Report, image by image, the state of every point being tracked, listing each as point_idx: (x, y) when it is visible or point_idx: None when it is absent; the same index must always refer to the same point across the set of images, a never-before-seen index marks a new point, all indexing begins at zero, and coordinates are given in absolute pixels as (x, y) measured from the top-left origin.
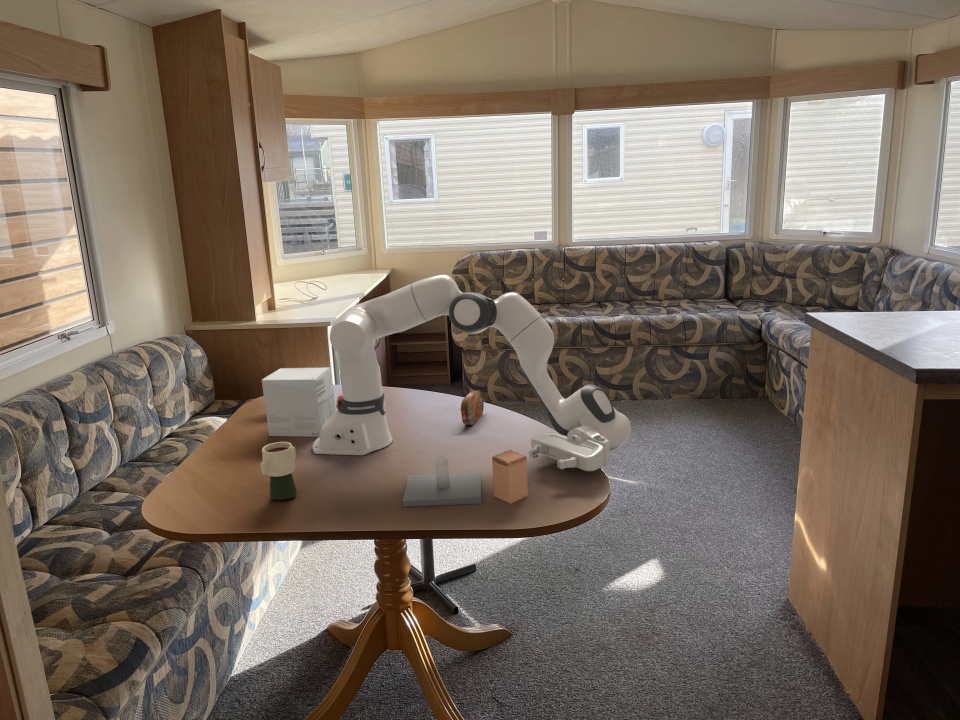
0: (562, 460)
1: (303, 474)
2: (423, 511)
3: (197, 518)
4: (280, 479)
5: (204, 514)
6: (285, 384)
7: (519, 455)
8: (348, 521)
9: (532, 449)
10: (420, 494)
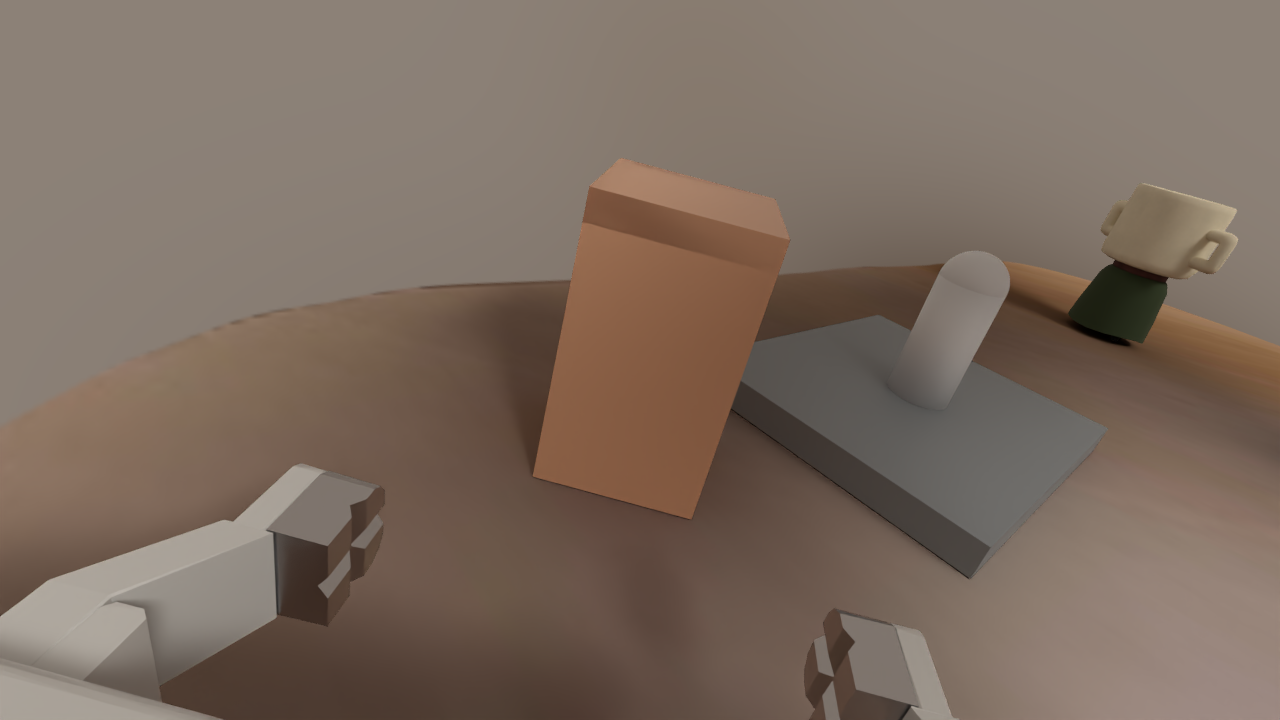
0: (301, 512)
1: (1274, 410)
2: (797, 325)
3: (1050, 281)
4: (1106, 267)
5: (1064, 288)
6: None
7: (644, 194)
8: (874, 287)
9: (929, 671)
10: (890, 341)
